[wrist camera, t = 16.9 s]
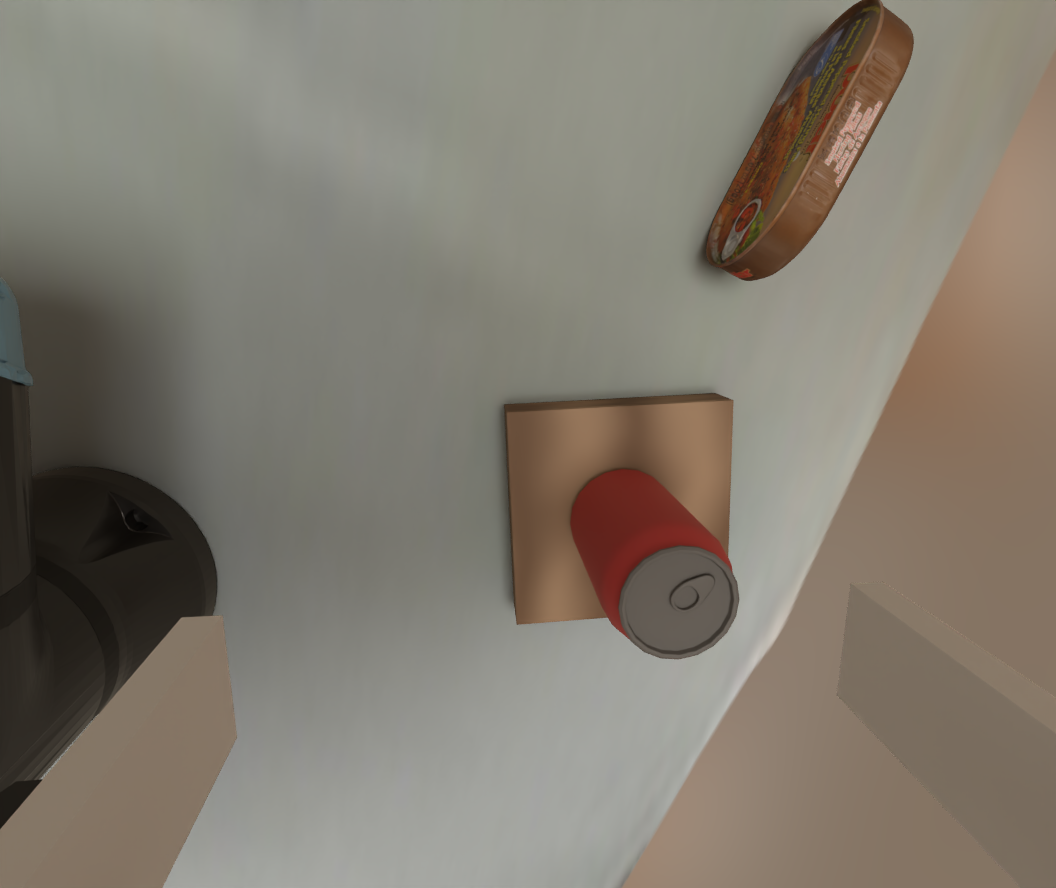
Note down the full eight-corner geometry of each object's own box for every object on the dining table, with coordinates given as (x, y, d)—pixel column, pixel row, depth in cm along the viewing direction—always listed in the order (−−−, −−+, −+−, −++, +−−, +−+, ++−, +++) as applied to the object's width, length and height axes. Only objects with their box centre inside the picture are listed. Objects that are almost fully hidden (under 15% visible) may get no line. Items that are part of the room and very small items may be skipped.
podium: (513, 603, 44) (516, 624, 41) (504, 404, 41) (506, 412, 38) (710, 588, 45) (726, 608, 42) (715, 393, 42) (733, 400, 39)
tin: (810, 32, 38) (903, -42, 30) (852, 59, 38) (956, -5, 30) (687, 266, 40) (742, 258, 32) (728, 289, 41) (793, 287, 33)
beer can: (691, 522, 41) (778, 611, 29) (609, 584, 41) (664, 697, 30) (630, 445, 39) (697, 507, 28) (547, 510, 40) (578, 598, 28)
